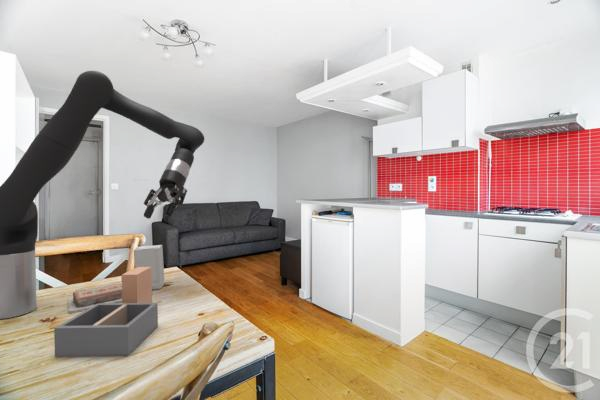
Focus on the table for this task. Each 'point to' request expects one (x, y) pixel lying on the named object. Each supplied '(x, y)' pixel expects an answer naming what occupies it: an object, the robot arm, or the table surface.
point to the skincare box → (151, 262)
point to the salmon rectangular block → (137, 285)
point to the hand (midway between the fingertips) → (156, 216)
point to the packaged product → (94, 297)
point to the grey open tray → (106, 330)
